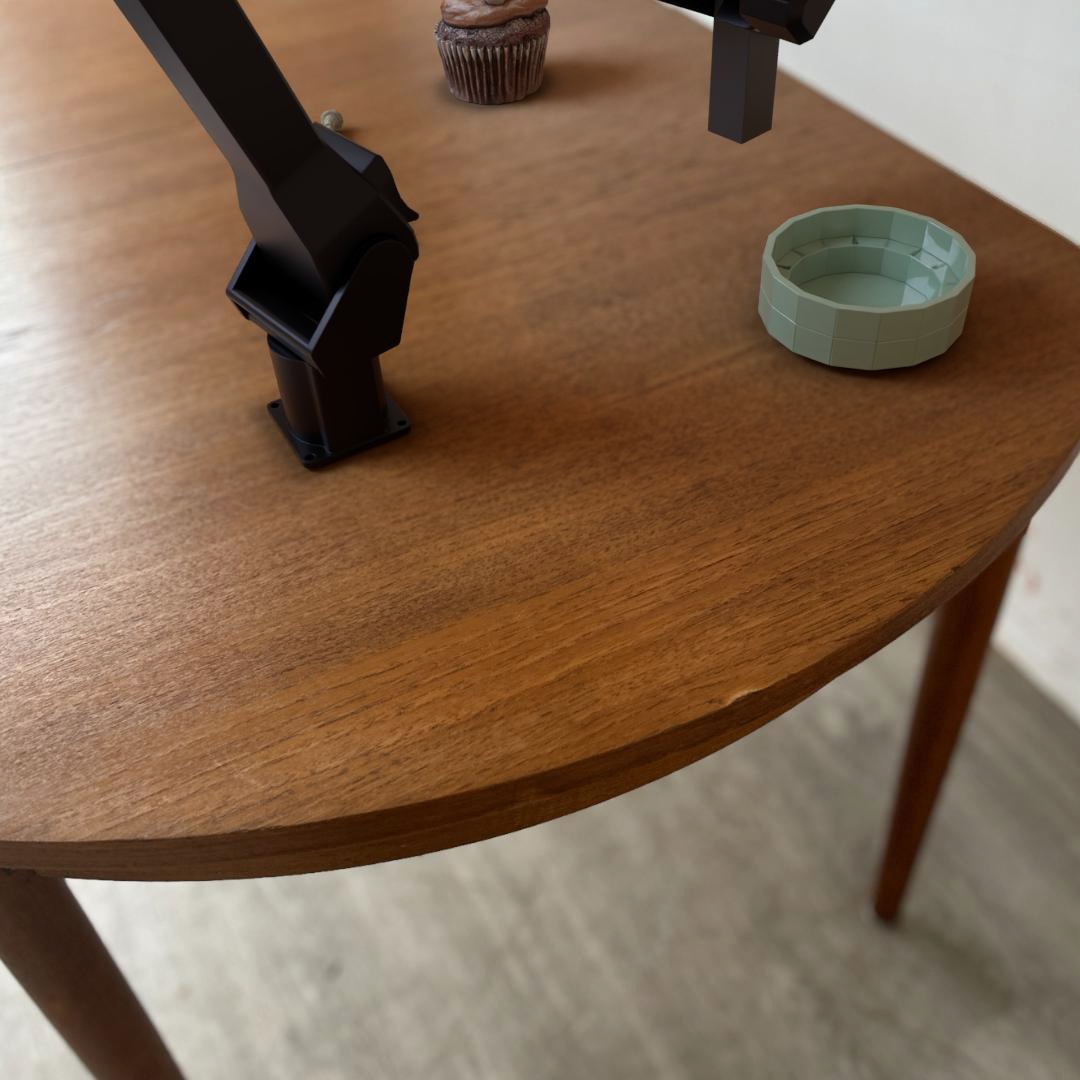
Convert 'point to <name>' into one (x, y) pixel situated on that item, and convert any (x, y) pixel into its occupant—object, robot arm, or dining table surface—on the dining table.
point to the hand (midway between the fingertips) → (761, 23)
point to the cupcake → (493, 48)
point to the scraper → (741, 81)
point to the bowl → (865, 286)
